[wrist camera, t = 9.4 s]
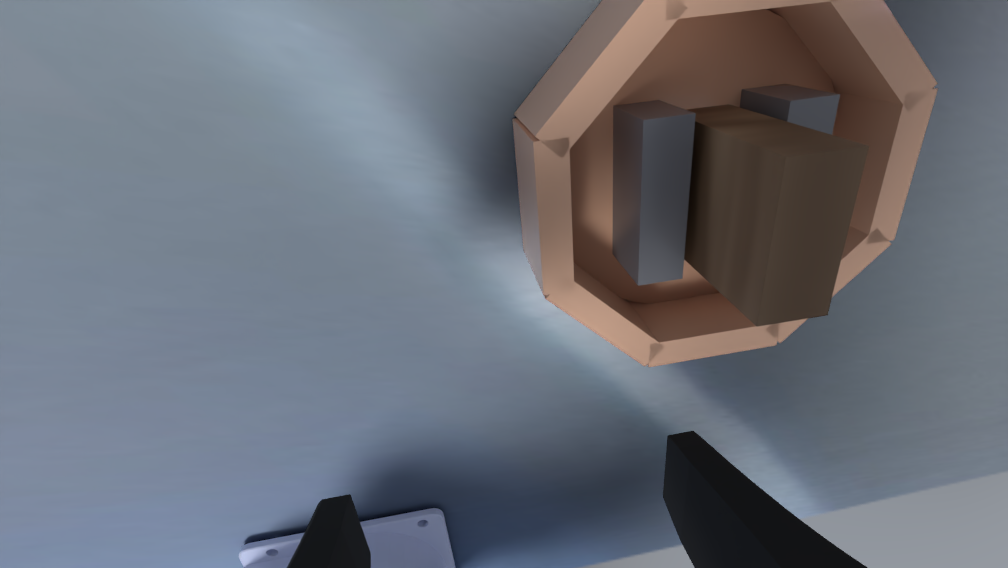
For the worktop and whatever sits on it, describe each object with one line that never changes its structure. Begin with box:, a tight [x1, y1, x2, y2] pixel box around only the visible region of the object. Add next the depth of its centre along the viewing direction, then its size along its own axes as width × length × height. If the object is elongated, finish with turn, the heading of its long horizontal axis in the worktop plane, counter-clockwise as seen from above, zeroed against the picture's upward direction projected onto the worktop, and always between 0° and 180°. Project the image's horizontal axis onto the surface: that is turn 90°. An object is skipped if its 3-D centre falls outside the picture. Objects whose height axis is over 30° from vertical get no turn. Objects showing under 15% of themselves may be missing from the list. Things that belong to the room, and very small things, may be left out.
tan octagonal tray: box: [512, 0, 938, 367], centre depth 17 cm, size 12×12×4 cm
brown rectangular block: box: [684, 104, 869, 327], centre depth 15 cm, size 2×4×6 cm, turn 5°
